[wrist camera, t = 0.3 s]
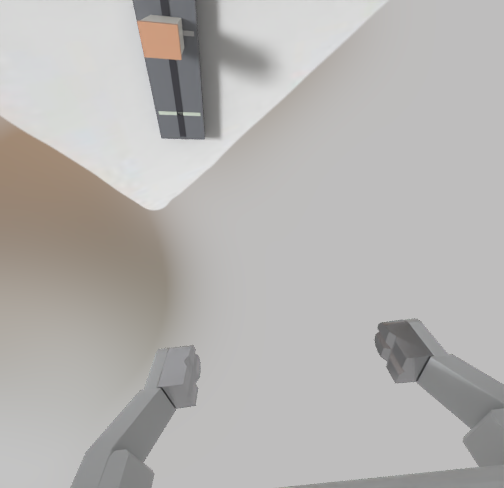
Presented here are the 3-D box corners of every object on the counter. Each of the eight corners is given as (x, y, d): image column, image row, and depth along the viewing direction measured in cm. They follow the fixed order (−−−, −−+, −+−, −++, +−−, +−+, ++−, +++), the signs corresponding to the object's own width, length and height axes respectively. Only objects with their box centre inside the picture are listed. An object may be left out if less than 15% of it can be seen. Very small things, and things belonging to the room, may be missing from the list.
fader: (149, 14, 34) (137, 21, 28) (182, 17, 35) (177, 25, 29) (154, 44, 37) (144, 57, 31) (185, 47, 38) (181, 60, 31)
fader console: (126, -53, 31) (120, -56, 29) (192, -44, 33) (191, -46, 31) (163, 132, 50) (161, 138, 48) (204, 133, 51) (204, 139, 49)
